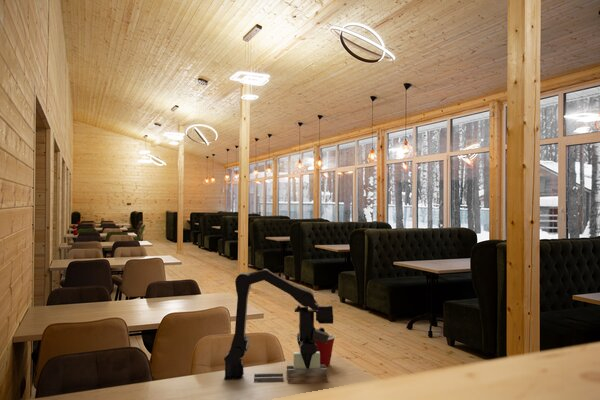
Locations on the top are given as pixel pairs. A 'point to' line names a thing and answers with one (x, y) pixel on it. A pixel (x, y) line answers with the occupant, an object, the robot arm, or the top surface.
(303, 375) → the track plinth
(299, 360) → the door panel
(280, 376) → the grey upright bracket
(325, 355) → the plastic cup
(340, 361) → the top surface
